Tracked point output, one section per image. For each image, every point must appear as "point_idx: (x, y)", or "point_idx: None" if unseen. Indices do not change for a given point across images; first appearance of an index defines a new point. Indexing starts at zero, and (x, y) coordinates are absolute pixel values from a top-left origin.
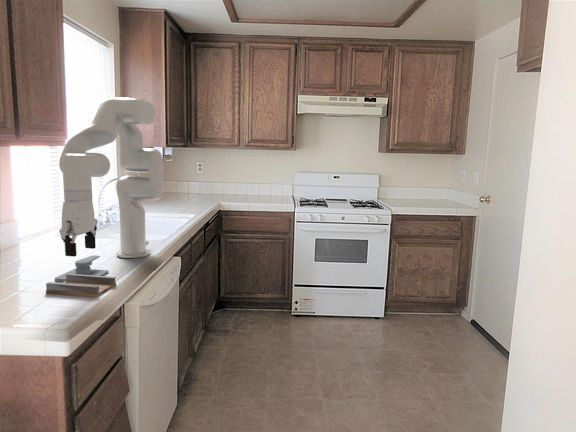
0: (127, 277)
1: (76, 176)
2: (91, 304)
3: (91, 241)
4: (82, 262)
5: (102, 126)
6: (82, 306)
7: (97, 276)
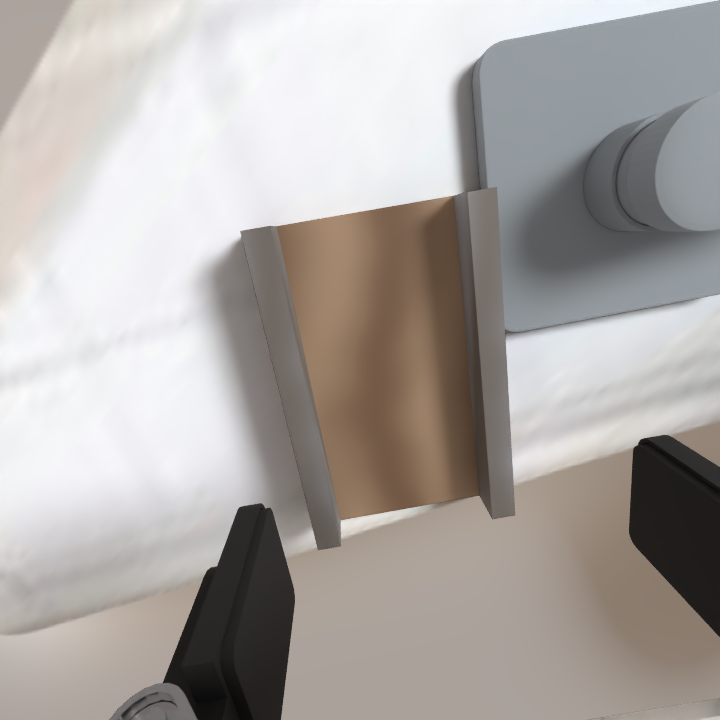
0: None
1: None
2: None
3: (700, 588)
4: (673, 199)
5: None
6: (195, 536)
7: (494, 422)
